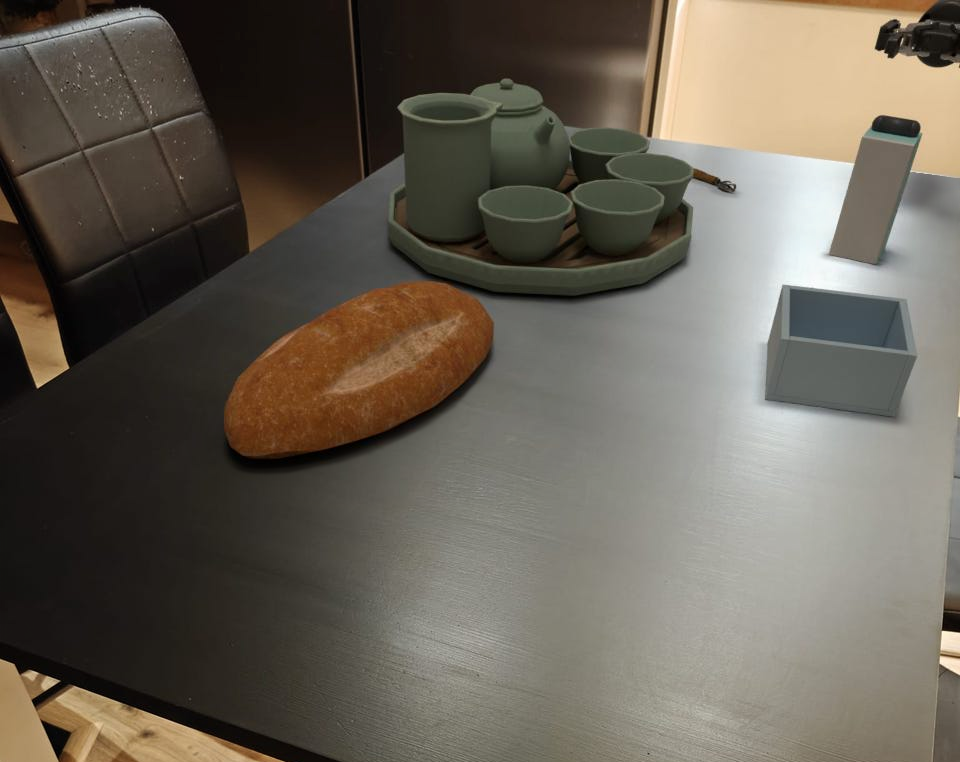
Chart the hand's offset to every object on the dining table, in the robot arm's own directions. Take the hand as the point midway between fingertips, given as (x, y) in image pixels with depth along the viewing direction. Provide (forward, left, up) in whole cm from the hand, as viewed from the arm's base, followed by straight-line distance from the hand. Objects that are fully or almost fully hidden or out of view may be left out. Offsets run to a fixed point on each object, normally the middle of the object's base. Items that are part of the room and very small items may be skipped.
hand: (928, 53), depth 114 cm
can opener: (+23, -9, -21) cm, 32 cm away
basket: (+7, +46, -20) cm, 51 cm away
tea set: (+44, +17, -21) cm, 51 cm away
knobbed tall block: (+3, +11, -20) cm, 23 cm away
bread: (+53, +61, -21) cm, 83 cm away
